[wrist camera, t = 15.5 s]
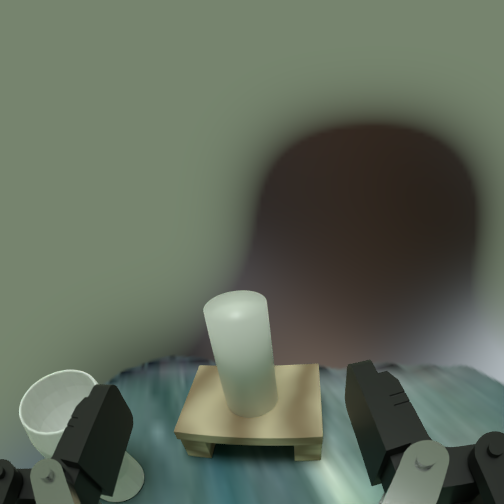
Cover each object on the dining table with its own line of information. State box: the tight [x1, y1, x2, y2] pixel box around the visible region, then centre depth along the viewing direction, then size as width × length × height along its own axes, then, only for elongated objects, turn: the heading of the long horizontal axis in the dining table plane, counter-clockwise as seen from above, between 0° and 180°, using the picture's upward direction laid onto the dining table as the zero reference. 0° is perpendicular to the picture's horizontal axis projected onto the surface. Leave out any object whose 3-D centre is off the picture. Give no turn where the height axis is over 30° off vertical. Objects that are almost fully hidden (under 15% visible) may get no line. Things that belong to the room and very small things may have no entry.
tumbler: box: [203, 291, 278, 418], centre depth 31 cm, size 6×6×13 cm
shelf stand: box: [174, 364, 323, 461], centre depth 34 cm, size 16×12×6 cm
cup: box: [19, 370, 144, 502], centre depth 24 cm, size 11×11×15 cm
